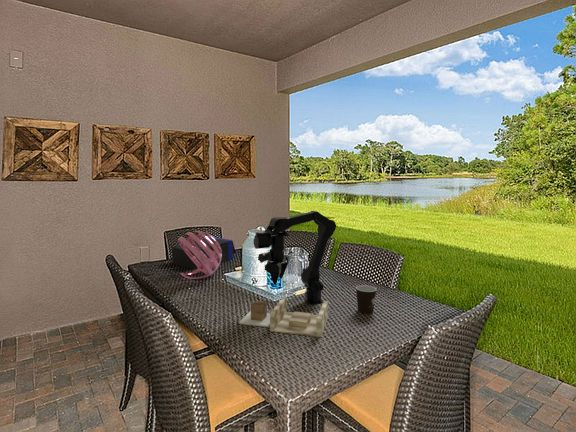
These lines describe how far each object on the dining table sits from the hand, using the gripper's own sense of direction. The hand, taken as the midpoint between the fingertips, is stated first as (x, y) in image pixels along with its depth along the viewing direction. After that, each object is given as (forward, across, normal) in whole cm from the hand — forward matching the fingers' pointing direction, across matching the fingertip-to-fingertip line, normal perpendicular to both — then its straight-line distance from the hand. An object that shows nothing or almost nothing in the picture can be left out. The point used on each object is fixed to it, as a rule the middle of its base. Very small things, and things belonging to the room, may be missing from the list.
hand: (278, 281), depth 151 cm
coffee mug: (+12, -8, +39) cm, 41 cm away
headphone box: (+12, -68, -73) cm, 100 cm away
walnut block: (+11, +14, -4) cm, 18 cm away
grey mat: (+12, +14, -4) cm, 19 cm away
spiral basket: (+12, -35, -58) cm, 69 cm away
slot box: (+12, +14, +13) cm, 23 cm away
